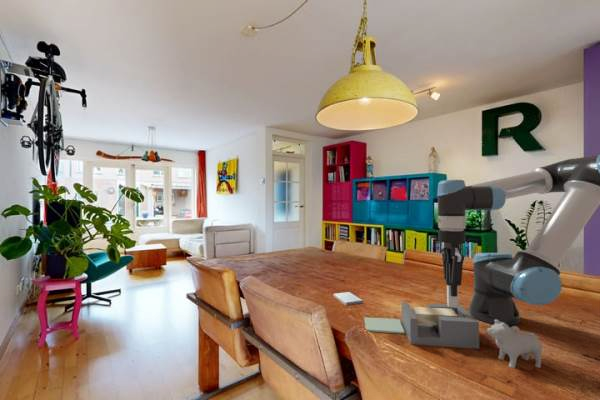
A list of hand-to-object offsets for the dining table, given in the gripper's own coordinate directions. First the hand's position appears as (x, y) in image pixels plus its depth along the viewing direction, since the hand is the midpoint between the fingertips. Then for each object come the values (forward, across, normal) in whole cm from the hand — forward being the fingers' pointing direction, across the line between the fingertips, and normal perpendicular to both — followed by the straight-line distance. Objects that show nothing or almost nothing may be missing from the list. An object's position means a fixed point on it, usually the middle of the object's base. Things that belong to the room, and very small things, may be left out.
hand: (452, 305), depth 88 cm
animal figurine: (+10, +13, +11) cm, 19 cm away
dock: (+10, 0, -5) cm, 11 cm away
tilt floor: (+6, 0, -5) cm, 7 cm away
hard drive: (+10, -30, -32) cm, 45 cm away
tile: (+5, 0, -5) cm, 7 cm away
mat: (+10, -4, -20) cm, 23 cm away
